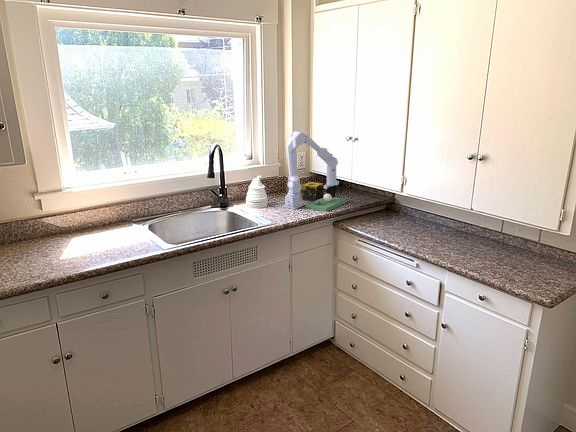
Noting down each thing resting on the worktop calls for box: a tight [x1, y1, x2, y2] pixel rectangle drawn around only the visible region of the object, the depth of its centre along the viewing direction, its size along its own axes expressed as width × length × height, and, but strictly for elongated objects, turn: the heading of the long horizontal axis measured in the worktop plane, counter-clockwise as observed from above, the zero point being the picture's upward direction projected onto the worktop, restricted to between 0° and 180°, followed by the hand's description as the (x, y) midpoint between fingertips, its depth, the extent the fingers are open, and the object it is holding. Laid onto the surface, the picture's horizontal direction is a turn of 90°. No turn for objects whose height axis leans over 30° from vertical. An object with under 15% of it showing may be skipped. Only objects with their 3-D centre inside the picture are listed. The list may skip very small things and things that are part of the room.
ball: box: [323, 193, 332, 202], centre depth 258 cm, size 5×5×5 cm
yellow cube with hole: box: [301, 181, 324, 202], centre depth 270 cm, size 10×10×10 cm
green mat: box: [305, 196, 348, 212], centre depth 258 cm, size 24×14×2 cm, turn 143°
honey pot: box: [245, 175, 268, 209], centre depth 256 cm, size 13×13×18 cm
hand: (331, 198), depth 261 cm, fingers open, 3 cm apart
